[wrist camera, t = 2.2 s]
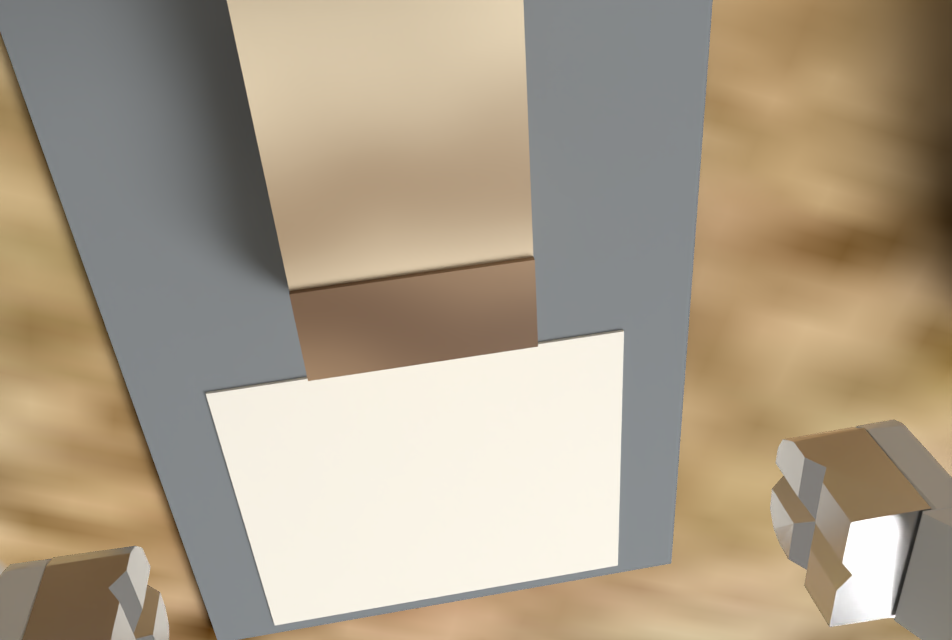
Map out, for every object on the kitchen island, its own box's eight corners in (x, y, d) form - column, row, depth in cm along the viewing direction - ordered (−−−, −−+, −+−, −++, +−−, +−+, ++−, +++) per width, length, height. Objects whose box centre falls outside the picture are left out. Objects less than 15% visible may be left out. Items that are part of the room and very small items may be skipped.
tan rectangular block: (234, -57, 19) (221, -18, 16) (489, -84, 20) (523, -50, 17) (307, 299, 24) (308, 381, 21) (509, 271, 25) (538, 346, 22)
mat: (-33, -87, 19) (-43, -82, 18) (715, -161, 20) (725, -158, 20) (219, 630, 31) (218, 645, 31) (666, 552, 33) (672, 565, 32)
